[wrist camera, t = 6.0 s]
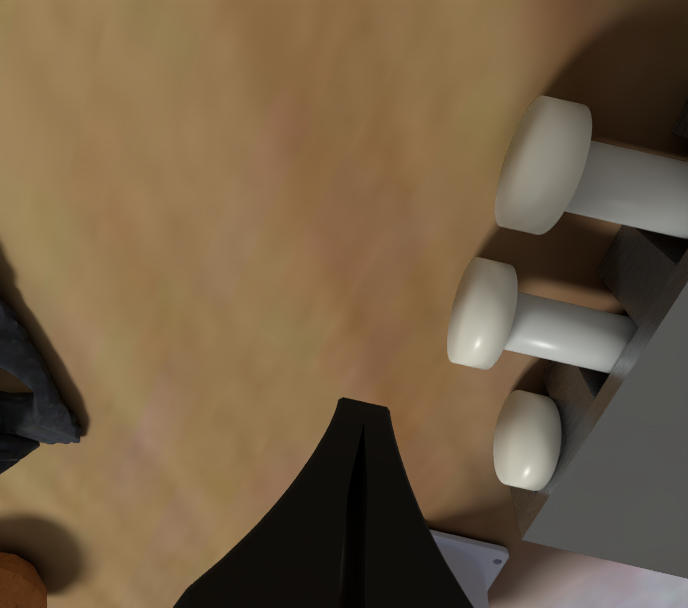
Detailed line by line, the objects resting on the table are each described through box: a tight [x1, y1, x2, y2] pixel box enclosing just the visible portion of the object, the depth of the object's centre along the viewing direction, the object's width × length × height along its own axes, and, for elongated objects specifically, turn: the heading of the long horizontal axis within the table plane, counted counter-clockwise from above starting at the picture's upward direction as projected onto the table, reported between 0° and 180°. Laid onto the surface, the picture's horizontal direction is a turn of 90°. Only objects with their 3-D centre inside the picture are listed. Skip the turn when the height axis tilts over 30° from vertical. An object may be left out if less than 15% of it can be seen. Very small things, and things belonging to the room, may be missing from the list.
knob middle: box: [447, 257, 638, 373], centre depth 18 cm, size 4×8×4 cm, turn 79°
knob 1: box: [493, 390, 567, 491], centre depth 21 cm, size 4×8×4 cm, turn 79°
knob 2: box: [495, 95, 688, 239], centre depth 15 cm, size 4×8×4 cm, turn 79°
